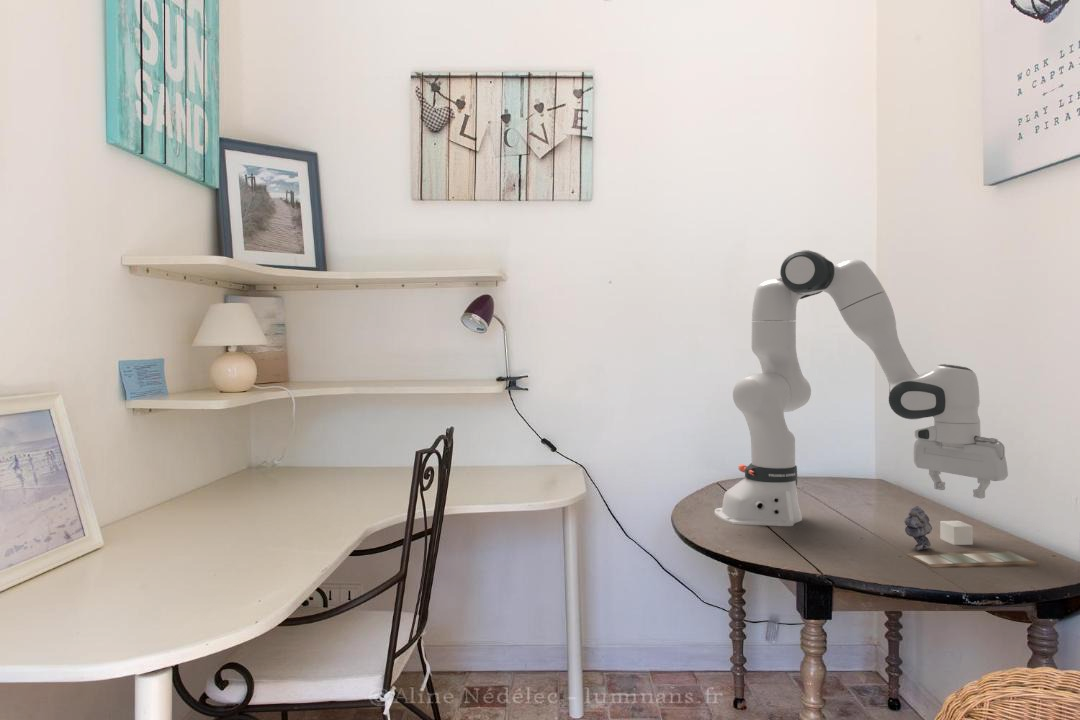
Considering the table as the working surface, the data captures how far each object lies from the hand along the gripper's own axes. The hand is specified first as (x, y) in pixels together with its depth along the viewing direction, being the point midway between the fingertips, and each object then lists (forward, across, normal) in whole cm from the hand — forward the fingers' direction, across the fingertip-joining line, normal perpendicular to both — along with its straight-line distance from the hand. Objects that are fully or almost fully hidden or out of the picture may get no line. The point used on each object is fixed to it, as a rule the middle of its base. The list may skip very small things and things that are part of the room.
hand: (958, 493), depth 142 cm
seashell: (+12, 0, +13) cm, 17 cm away
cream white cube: (+12, +1, 0) cm, 12 cm away
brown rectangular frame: (+12, -9, +9) cm, 18 cm away
